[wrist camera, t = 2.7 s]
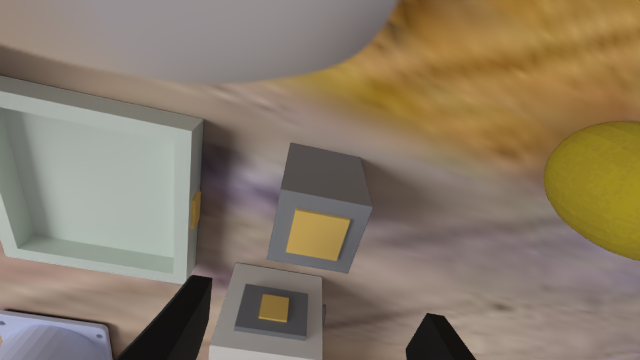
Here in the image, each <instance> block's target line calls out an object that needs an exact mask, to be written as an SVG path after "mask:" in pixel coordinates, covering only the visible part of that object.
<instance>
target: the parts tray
mask: <svg viewBox="0 0 640 360" xmlns="http://www.w3.org/2000/svg"><path fill="white" fill-rule="evenodd" d="M203 123H204V119H201V118H196V117H191V116H187V115H182V114H177V113H173V112H168V111H163V110H159V109H154V108H149V107H145V106H140V105H135V104H131V103H126V102H121V101H117V100H112V99H107V98H103V97H98V96H94V95H89V94H84V93H80V92H75V91H70V90H66V89H61V88H56V87H52V86H47V85H42V84H38V83H33V82H28V81H24V80H19V79H14V78H10V77H5V76H0V240H1V243H2V246H3V249H4V252H5V255H6V257H13V258H19V259H25V260H32V261H38V262H44V263H51V264H57V265H63V266H70V267H76V268H82V269H89V270H95V271H101V272H108V273H114V274H120V275H127V276H133V277H139V278H146V279H152V280H158V281H165V282H171V283H177V284H184V283H185V282H186V280H187V279H188V278H189V277H190V276H191V273H192V271H193V269H194V267H195V265H196V250H197V232H198V221H199V219H200V204H201V192H200V178H201V159H202V141H203Z"/></svg>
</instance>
